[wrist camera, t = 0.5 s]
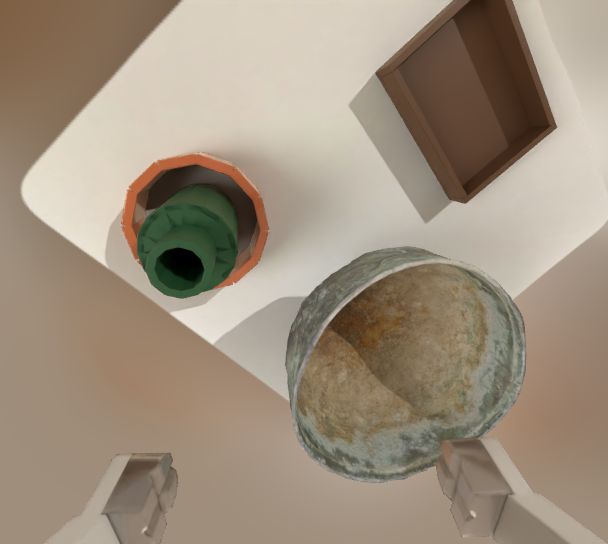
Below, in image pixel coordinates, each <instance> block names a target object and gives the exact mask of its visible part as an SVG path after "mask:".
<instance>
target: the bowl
mask: <svg viewBox="0 0 608 544" xmlns="http://www.w3.org/2000/svg"><path fill="white" fill-rule="evenodd" d="M285 366H286V370H287V373H288V388H289V397H290V406H291V410H292V418H293V424H294V429H295V432H296V436H297V438H298V441H299V443H300V445H301V446H302V448H303V450H304V451H305V453H306V454H307V455H308V456H309V457H311V458H312V459H313V460H314V461H315V462H316V463H318V464H319V465H320V466H321V467H323V468H324V469H326V470H327V471H329V472H332V473H335V474H338V475H340V476H342V477H345V478H347V479H352V480H357V481H361V482H369V483H383V482H388V481H393V480H400V479H406V478H408V477H410V476H412V475H414V474H417V473H420V472H423V471H426V470H427V469H428V468H430V467H433V466H436V463H437V458H438V457H439V456H440V455H441V454H442V452H441V450H440V448H439V447H440V443H441V441H442V440H443V439H456V438H471V437H475V438H481V437H483V436H485V435H486V434H487V433H488V432H489V431H490V430H492V429H493V428H494V427H495V426H496V425H497V424H498V423H499V422H500V421H501V419H502V418H503V417H504V416H505V415H506V414H507V412H508V411H509V410H510V408H511V407H512V406H513V404H514V403H515V401H516V399H517V397H518V395H519V394H520V391H521V387H522V383H523V379H524V376H525V369H526V340H525V327H524V321H523V317H522V315H521V313H520V311H519V309H518V308H517V306H516V305H515V303H514V302H513V301H512V300H511V297H510V296H509V295H508V294H507V293H506V292H505V290H504V289H503V288H502V287H501V286H500V284H499V283H497V282H496V281H495V280H494V279H492V278H491V277H490V276H488V275H487V274H485V273H484V272H482V271H481V270H479V269H478V268H476V267H475V266H472V265H469V264H466V263H464V262H461V261H454V260H451V259H448V258H445V257H442V256H439V255H436V254H433V253H431V252H428V251H426V250H424V249H420V248H416V247H398V248H388V249H382V250H377V251H373V252H369V253H365V254H363V255H362V256H360V257H358V258H357V259H355V260H353V261H352V262H351V263H350V264H348V265H346V266H344V267H342V268H341V269H340V270H338V271H337V272H335V273H333V274H331V275H330V276H329V277H328V278H327V279H326V280H324V281H323V282H322V284H320V285H319V286H317V287H316V288H315V289H314V290H313V292H312V293H311V294H310V295H309V296H308V297H307V298H306V300H305V301H304V302H303V303H302V304H301V307H300V309H299V311H298V314H297V316H296V318H295V320H294V322H293V324H292V326H291V329H290V333H289V337H288V343H287V352H286V363H285Z"/></svg>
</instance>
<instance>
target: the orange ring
mask: <svg viewBox="0 0 608 544" xmlns="http://www.w3.org/2000/svg"><path fill="white" fill-rule="evenodd" d="M195 164H197V165H200V166H203V167H206V168H208V169H211V170H214V171H217V172H220V173H223V174H226V175H229V176H231V178H232V179H233V180H234V181H235V182H236V183H237V184H238V185H239V186H240V187H241V188H242V189H243V191H244V192H245V193H246V194H247V195H248V196H249V197H250V198H251V199H252V200H253V204H254V209H255V213H256V217H257V224H256V227H255V230H254V233H253V236H252V240H251V243H250V246H248V247H247V248H246V249H245V250H244V251H243V252H242V253H241V254H240V255H238V256H237V258H236V264H235V267H234V268H233V270H232V272H231V273H230V275H229V276H228V278H227V279H226V280H225V281H224V282H222V283H221V284H219V285H218V286H216V287H215V288H213V289H216V288H220V287H225V286H229V285H233V282H234V283H236V282H238V281H239V280H240V279H241V278H242V277H243V276H244V275H245V274H247V273H248V272H249V271H250V270H251V269H252V268H253V267H255V266H256V265H257V264H258V261H260V258H261V255H262V252H263V249H264V246H265V243H266V240H267V236H268V233H269V232H268V230H269V227H268V223H267V219H266V214H265V210H264V205H263V201H262V197H261V195H260V193H259V191H258V189H257V187H256V186H255V185H254V184H253V183H252V182H251V181H250V180H249V179H248V177H247V176H246V175H245V174H244V173H243V172H242V171H241V170H240V168H239V167H238V166H237V165H236V166H235V167H234V163H231V162H228V161H226V160H223V159H220V158H217V157H214V156H212V155H209V154H206V153H203V152H202V153H200V152H197V153H192V154H187V155H181V156H176V157H171V158H166V159H162V160H158V161H157V162H154V163H153V164H152V165H151V166H150V167H149V168H148V169H146V170H145V171H144V172H143V173H142V174H141V175H140V176H139V177H138V178H137V179H136V180H135V181H134V182H133V183H132V184H131V185H130V186H129V188H130V189H129V190H127V194H126V199H125V205H124V211H123V217H122V222H121V224H122V225H124V226H122V230H123V232H124V234H125V237H126V239H127V241H128V244H129V246H130V248H131V251H132V253H133V256H134V258H135V259H138V261H137V262H138V263H139V264H141V262H140V260H139V257H138V255H137V234H138V232H139V230H140V228H141V226H142V224H143V223H144V221H145V219H146V218H145V211H146V206H147V201H148V196H149V191H150V187H151V186H152V185H154V184H155V183H156V182H157V181H158V180H159V179H160V178H161V177H162V176H163V175H164V174H165V173H166V172H167V171H168V170H169V169H175V168H180V167H185V166H190V165H195ZM141 265H142V264H141ZM211 290H212V289H211Z"/></svg>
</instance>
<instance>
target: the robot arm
mask: <svg viewBox="0 0 608 544" xmlns="http://www.w3.org/2000/svg"><path fill="white" fill-rule="evenodd" d="M439 448H440V450H441V452H442V454H441V455H440V456H439V457H438V458H437V463H436V469H437V476H438V480H439V483H440V486H441V488H442V491H443V493H444V494H445V495H446V496H447V497H448V498H449V499H450V500H451V501H452V505H451V513H452V515H453V518H454V520H455V522H456V525H457V527H458V530H459V532H460V534H461V537H481V536H483V537H484V536H493V539H494V540H495V541H496V542H497V543H498V544H607V543H605V542H604V541H603V540H601V539H600V538H599V537H597V536H596V535H595V534H593V533H592V532H590V531H589V530H588V529H586V528H585V527H584V526H582V525H581V524H580V523H578V522H577V521H576V520H574V519H573V518H571V517H570V516H569V515H567V514H566V513H565V512H563V511H562V510H561V509H559V508H558V507H557V506H555V505H554V504H552V503H551V502H550V501H549V500H547V499H546V498H544V497H543V496H542V495H540V494H539V493H538V494H537V493H536V494H535V493H533V492H532V490H531V489H530V488H529V486H528V485H527V483H526V482H525V480H524V479H523V477H522V476H521V474H520V473H519V471H518V470H517V468H516V467H515V465H514V464H513V462H512V461H511V459H510V458H509V456H508V455H507V453H506V452H505V450H504V449H503V447H502V446H501V444H500V443H499V441H498V440H497V439H496V438H494V437H481V438H475V437H471V438H456V439H443V440H442V441H441V443H440V447H439ZM172 461H173V459H172V456H171V453H144V454H143V453H142V454H117V455H116V456H115V457H114V458H113V459H112V460H111V462H110V464H109V466H108V467H107V469H106V471H105V473H104V474H103V476H102V478H101V480H100V481H99V483H98V485H97V487H96V488H95V490H94V492H93V494H92V495H91V497H90V499H89V501H88V502H87V504H86V506H85V508H84V509H83V511H82V513H81V515H79V516H74V517H73V518H72V519H70V520H69V521H68V522H67V523H66V524H65V525H64V526H62V527H61V528H60V529H59V530H58V531H57V532H55V533H54V534H53V535H52V536H51V537H50V538H49V539H47V540H46V541H45V542H44V543H43V544H160V543H161V540H162V537H163V534H164V531H165V528H166V525H167V523H166V519H165V516H164V515H165V514H166V513H167V512H168V511H169V510H170V509H171V508H172V507H173V504H174V500H175V497H176V493H177V487H178V476H177V472H176V470H175V469H174V468H172V467H171V464H172Z"/></svg>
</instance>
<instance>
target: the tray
mask: <svg viewBox="0 0 608 544" xmlns="http://www.w3.org/2000/svg"><path fill="white" fill-rule="evenodd" d="M376 74H377V76H378V78H379V80H380V81H381V83H382V85H383V86H384V88H385V90H386V92H387V93H388V95H389V97H390V98H391V100H392V102H393V104H394V105H395V107H396V109H397V110H398V112H399V114H400V116H401V117H402V119H403V121H404V122H405V124H406V126H407V128H408V129H409V131H410V133H411V134H412V136H413V138H414V140H415V141H416V143H417V145H418V146H419V148H420V150H421V152H422V153H423V155H424V157H425V158H426V160H427V162H428V164H429V165H430V167H431V169H432V170H433V172H434V174H435V176H436V177H437V179H438V181H439V182H440V184H441V186H442V188H443V189H444V191H445V193H446V194H447V196H448V198H449V199H450V200H453V201H457V202H461V203H464V204H466V203H467V202H468V201H469V200H470V199H472V198H473V197H474V196H475V195H476V194H478V193H479V192H480V191H481V190H483V189H484V188H485V187H486V186H487V185H489V184H490V183H491V182H492V181H493V180H495V179H496V178H497V177H498V176H499V175H501V174H502V173H503V172H504V171H505V170H507V169H508V168H509V167H510V166H511V165H513V164H514V163H515V162H516V161H517V160H519V159H520V158H521V157H522V156H523V155H525V154H526V153H527V152H528V151H529V150H531V149H532V148H533V147H534V146H535V145H537V144H538V143H539V142H540V141H541V140H543V139H544V138H545V137H546V136H547V135H549V134H550V133H551V132H552V131H553V130H555V129H556V128H557V126H556V123H555V120H554V117H553V115H552V112H551V109H550V106H549V103H548V100H547V98H546V95H545V92H544V89H543V86H542V84H541V81H540V78H539V75H538V72H537V69H536V67H535V64H534V61H533V58H532V55H531V53H530V50H529V47H528V44H527V41H526V38H525V36H524V33H523V30H522V27H521V24H520V22H519V19H518V16H517V13H516V10H515V7H514V5H513V2H512V0H453V1H452V2H451V3H450V4H449V5H448V6H447V7H446V8H444V9H443V10H442V11H441V12H440V13H439V14H438V15H437V16H436V17H435V18H434V19H433V20H431V21H430V22H429V23H428V24H427V25H426V26H425V27H424V28H423V29H422V30H421V31H420V32H418V33H417V34H416V35H415V36H414V37H413V38H412V39H411V40H410V41H409V42H408V43H407V44H405V45H404V46H403V47H402V48H401V49H400V50H399V51H398V52H397V53H396V54H395V55H394V56H392V57H391V58H390V59H389V60H388V61H387V62H386V63H385V64H384V65H383V66H382V67H381V68H379V69H378V70H377V71H376Z"/></svg>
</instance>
